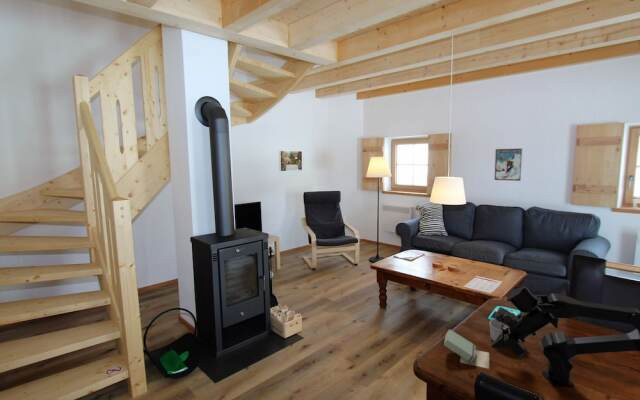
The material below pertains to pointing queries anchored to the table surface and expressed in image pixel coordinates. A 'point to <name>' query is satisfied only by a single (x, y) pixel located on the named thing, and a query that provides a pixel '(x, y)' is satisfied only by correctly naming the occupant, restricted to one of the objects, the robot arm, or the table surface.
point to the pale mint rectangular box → (460, 345)
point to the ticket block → (478, 359)
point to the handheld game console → (505, 309)
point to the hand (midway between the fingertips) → (492, 346)
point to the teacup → (495, 329)
